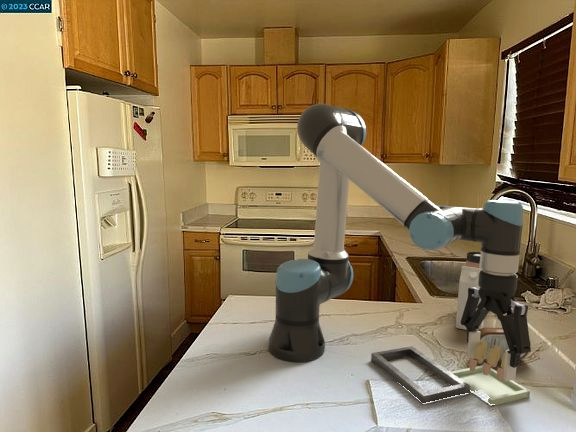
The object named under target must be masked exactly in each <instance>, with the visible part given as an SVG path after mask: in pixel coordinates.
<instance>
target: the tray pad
mask: <svg viewBox="0 0 576 432" xmlns="http://www.w3.org/2000/svg"><path fill="white" fill-rule="evenodd" d="M483 365H484V364H482V365H477V366H476V368H475V370H474V371H471V370H470V367H468V368H463V369H458V370H453V371H450V372H451V373H453V374H454V375H456V376H457V377H458V378H460V379H461V380H463V381H464V382H466V383H467V384H469V385H470V390H471V391H474V392H475V390H476V391H478V390H482V391H484V393H486V394H487V395H488V396H489V397H490V398H489V399H488V402H489V403H490V404H495V406H499V405H502V404H507V403H511V402H514V401H518V400H523V399H527V398H530V395H531V390H530V389H528V388H526V387H524V386H522V385H521V384H519V383H517V382H516V381H514V380H509V381H505V380H503V378H502V380H498V377H497V370H495V369H493V367H491V369H490V372H489V374H488V375H484V374H483Z"/></svg>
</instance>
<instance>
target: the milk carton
mask: <svg viewBox="0 0 576 432" xmlns="http://www.w3.org/2000/svg"><path fill="white" fill-rule="evenodd" d="M480 270H481V268H473V267H466V265H462V266H461V273H460V276H459V281H458V282H459V285H458V295H457V296H458V297H457V306H456V307H457V309H456V319H455V328H456V329H461V330H465V331H467V329H466V327H465V326H464V325H461V319H462V315H463V312H464V309H465V305H466V302H467V298H468V288H472V287H479V285H478V279H479V271H480ZM479 289H480V287H479ZM480 301H481V299H479V302H478V305H479V303H480ZM477 309H478V308H477ZM477 309H476V310H477ZM484 320H485V319H484ZM484 320H483V321H482V323H481V325H480V326H479V328H480V329H481V328H484V327H483V326H484V322H485V321H484ZM477 330H479V329H477ZM477 330H476V331H477Z"/></svg>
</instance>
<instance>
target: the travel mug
mask: <svg viewBox="0 0 576 432" xmlns="http://www.w3.org/2000/svg"><path fill="white" fill-rule="evenodd" d="M480 255H481V251H469V252H467V254H466V261H465V263H466V264H465V266H466V267H473V268H480V267H479V265H480Z"/></svg>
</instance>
